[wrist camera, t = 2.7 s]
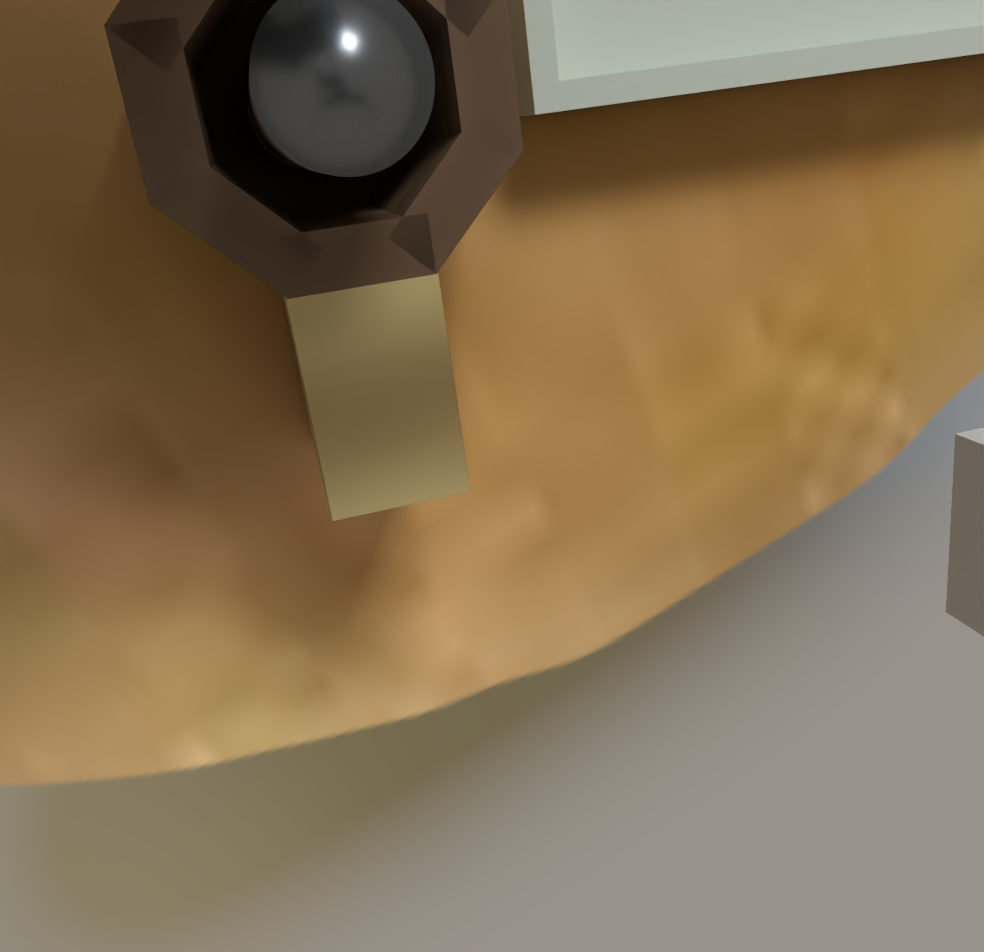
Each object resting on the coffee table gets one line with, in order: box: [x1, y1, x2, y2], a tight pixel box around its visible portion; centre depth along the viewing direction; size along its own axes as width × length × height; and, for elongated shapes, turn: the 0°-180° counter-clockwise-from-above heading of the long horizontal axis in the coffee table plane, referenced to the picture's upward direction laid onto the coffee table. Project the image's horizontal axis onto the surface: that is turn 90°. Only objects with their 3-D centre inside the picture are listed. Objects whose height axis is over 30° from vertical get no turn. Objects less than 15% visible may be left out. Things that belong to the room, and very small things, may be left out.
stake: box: [248, 0, 435, 177], centre depth 19 cm, size 3×3×9 cm
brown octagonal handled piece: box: [104, 0, 524, 521], centre depth 21 cm, size 12×8×6 cm, turn 7°
